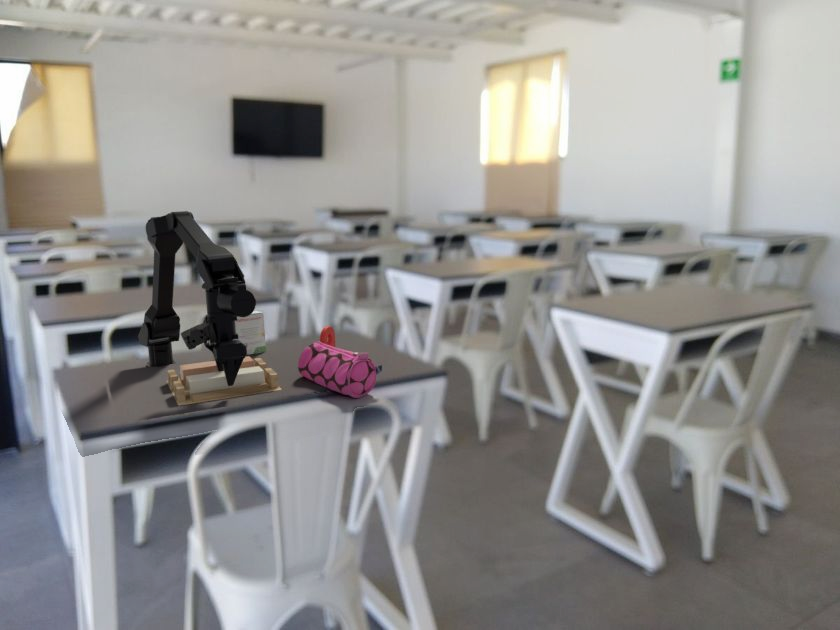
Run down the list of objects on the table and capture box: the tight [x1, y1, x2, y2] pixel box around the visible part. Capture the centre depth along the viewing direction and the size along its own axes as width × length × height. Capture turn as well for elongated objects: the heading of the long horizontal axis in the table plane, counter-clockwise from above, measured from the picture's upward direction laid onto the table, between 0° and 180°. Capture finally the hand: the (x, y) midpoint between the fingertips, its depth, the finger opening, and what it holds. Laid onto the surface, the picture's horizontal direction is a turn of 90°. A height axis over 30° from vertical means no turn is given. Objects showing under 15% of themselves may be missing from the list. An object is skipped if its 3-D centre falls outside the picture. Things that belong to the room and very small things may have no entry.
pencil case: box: [297, 340, 383, 399], centre depth 159 cm, size 21×10×10 cm, turn 44°
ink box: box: [234, 310, 267, 356], centre depth 187 cm, size 9×5×12 cm, turn 123°
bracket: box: [319, 326, 336, 347], centre depth 185 cm, size 12×4×8 cm, turn 161°
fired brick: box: [179, 355, 255, 387], centre depth 164 cm, size 4×16×4 cm, turn 116°
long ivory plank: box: [186, 366, 265, 399], centre depth 155 cm, size 4×16×4 cm, turn 116°
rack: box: [165, 357, 283, 407], centre depth 159 cm, size 20×22×4 cm
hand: (226, 380), depth 155 cm, fingers open, 9 cm apart
